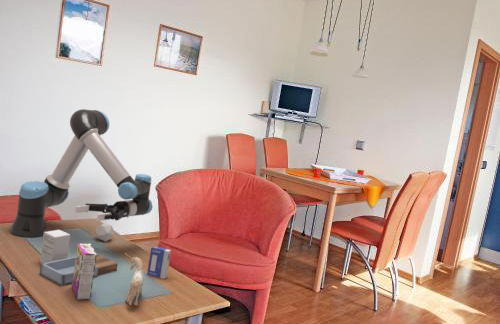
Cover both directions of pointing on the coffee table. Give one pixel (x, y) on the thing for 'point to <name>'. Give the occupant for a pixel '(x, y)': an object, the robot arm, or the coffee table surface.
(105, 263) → the walnut board
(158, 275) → the walkman
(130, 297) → the unicorn figurine
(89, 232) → the coffee table surface
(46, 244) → the supplement box
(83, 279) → the candy bar box
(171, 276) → the coffee table surface
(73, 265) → the tray
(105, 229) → the die
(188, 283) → the coffee table surface
